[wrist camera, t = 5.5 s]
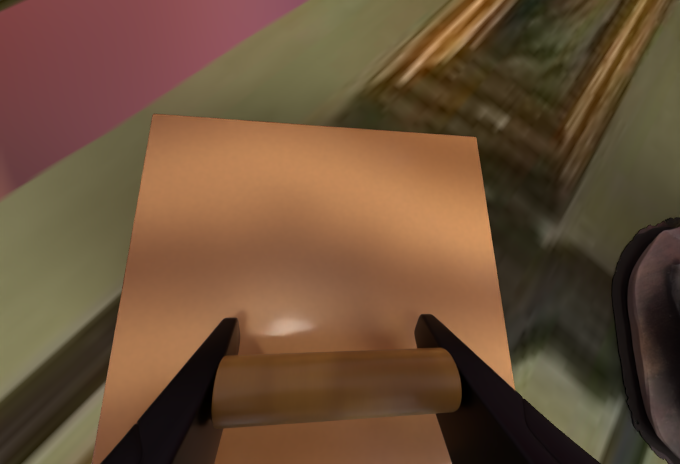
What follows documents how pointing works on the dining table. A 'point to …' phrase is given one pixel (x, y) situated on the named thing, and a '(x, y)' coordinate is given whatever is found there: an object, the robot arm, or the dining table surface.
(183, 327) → the lid
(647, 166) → the dining table surface
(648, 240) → the angel statue
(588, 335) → the dining table surface
